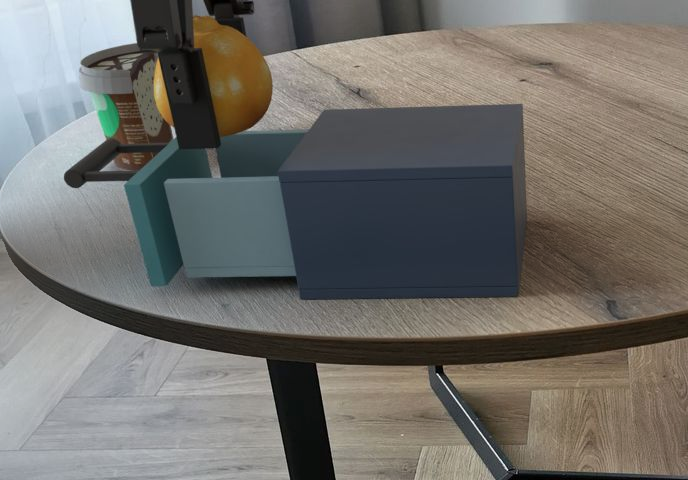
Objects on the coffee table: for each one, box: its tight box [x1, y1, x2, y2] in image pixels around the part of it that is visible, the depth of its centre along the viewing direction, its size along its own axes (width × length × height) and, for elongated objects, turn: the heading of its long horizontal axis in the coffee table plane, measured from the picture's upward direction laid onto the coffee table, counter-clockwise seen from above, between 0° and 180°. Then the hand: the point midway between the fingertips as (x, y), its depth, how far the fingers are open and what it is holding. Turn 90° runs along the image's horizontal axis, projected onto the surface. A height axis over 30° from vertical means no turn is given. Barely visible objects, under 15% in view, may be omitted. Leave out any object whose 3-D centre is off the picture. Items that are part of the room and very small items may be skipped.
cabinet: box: [278, 103, 528, 300], centre depth 71 cm, size 16×14×10 cm
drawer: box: [63, 128, 310, 287], centre depth 72 cm, size 20×12×8 cm, turn 86°
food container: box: [78, 42, 175, 171], centre depth 95 cm, size 12×6×10 cm, turn 6°
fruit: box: [154, 14, 274, 137], centre depth 68 cm, size 8×8×8 cm
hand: (221, 125), depth 69 cm, fingers closed on fruit, 8 cm apart
